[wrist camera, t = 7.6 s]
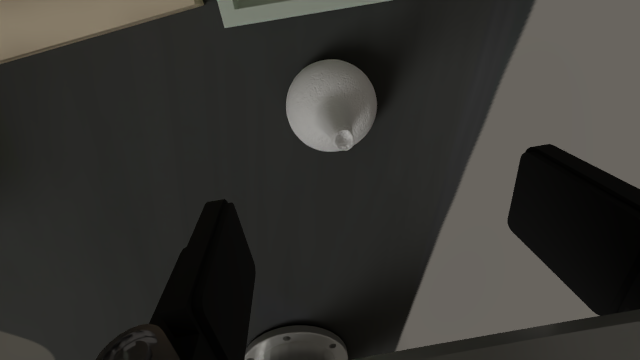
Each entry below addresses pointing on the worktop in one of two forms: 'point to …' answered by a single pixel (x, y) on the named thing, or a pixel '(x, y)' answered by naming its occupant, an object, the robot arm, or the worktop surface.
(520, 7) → the worktop surface
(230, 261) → the robot arm
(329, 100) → the garlic bulb
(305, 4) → the dish
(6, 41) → the board
